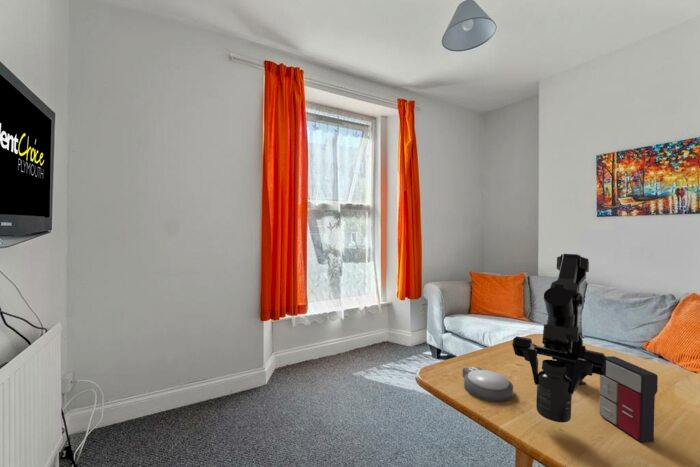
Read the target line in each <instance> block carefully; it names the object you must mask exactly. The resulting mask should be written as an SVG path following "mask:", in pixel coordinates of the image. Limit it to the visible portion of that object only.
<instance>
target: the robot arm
mask: <svg viewBox="0 0 700 467" xmlns="http://www.w3.org/2000/svg"><path fill="white" fill-rule="evenodd" d="M556 269H557V271H558V277H557V280H554V281H552V282H551V284H550V286H549V288H548V289H546V290H545V292H543V301H544V305H545V310H546V313H547V319H546V321H547V324H546V323H544V324H543V330H542V340H541V341H542V342H541V343H542V344H543V346H541V345H537V344H535V343H533V341H532V338H530V337H529V338H528V337H522V336H518V335H516V336H515V337H514V338H513V339H512V344H511V346H512V348H513V351H514V355H515V356H518V357H522V358H524V360H525V361H526V362H529V365H530V367H531V371H532V377H533V381H534V385H536V386H537V375H538V373H539V359H538V355H541V356H545V357H551V360H555V361H559V362H562V363H564V364H566V366H567V375H566V376H567V377H568V378H569V379H570V380H571V388H570V394H572V395H574V394H575V392H576V390H577V388H578V386H580V385H583V386H584V385H585V386H586V385H587V382H585V381H583V380H584V379H585V378H586V377H587V376H590V377H591V376H593V375H594V374H595V375H599V376H600V375H606V356H607V355H605V353H603V352H599V351H593V350H590V349H589V350H588V349H587V348H586V345H584V340H583V338H582V336H581V334H580V333H579V331H580V330H579V329H580V327H579V311H580V310H579V307H581V306H582V305H583V304H584V297H583V295H582V293H581V292H580V288H581V285H582V283H583V282H584V281H585V280H586V279H587V273H589V272H590V260H589V258H586V257H584V256H581V255H580V254H577V253H563V254H560V255H559V256H557V257H556Z"/></svg>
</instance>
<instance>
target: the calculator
mask: <svg viewBox="0 0 700 467" xmlns="http://www.w3.org/2000/svg"><path fill="white" fill-rule="evenodd" d="M605 356H606V375H599V401H598V403H599V404H598V407H599V408H598V411H599V412H598V414H599V415H600V416H601V417H602V418H604V419H605V420H607V421H608V422H610V423H611V424H613V425H614V426H616V427H617V428H619V429H620V430H622V431H624V432H625V433H627V434H628V435H630V436H631V437H632V438H634V439H635V440H637V441H639V442H640V443H649V442H651V443H652V442H654V439H655V403H656V402H655V400H656V398H655V396H656V394H657V393H658V379H659V378H658V375H657V374H656V373H655V372H652V371H649V370H647V369H645V368H642V367H640V366H638V365H636V364H633V363H631V362H628V361H627V360H624V359H622V358H619V357H617V356H614V355H611V356H610V355H609V356H607V355H605Z"/></svg>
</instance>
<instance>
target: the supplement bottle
mask: <svg viewBox="0 0 700 467" xmlns="http://www.w3.org/2000/svg"><path fill="white" fill-rule="evenodd" d="M541 364H542V365H541V371H538V375H537V385H536V407H535V408H536V411H537V412H538V414H539V415H540V416H542V417H543V418H545V419H546V420H548V421H552V422H556V423H560V424H561V423H567V422H570V420H571V419H572V394H570V388H571V380H570V379H569V378H568V377H567V376H566V375H567V366H566V364H564V363H562V362H559V361H556V360H555V359H554V360H553V359H544V360H542V363H541Z"/></svg>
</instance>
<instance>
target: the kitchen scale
mask: <svg viewBox="0 0 700 467" xmlns="http://www.w3.org/2000/svg"><path fill="white" fill-rule="evenodd" d="M462 377H463V380H464V381H463V388H464V389H465V392H467V393H468V394H470V395H471V396H473V397H475V398H477V399H480V400H483V401H488V402H496V403H497V402H498V403H499V402H500V403H502V402H508V401H510V400H511V399H513V396H514V385H513V383H512V382H511V381H510V380H509V379H508V378H507V377H506V376H505V375H503V374H500V373H498V372H495V371H491V370H486V369H485V370H484V369H482V368H481V367H479V366H478V367H477V366H476V367H473V366H472V367H469V366H468V367H463V368H462Z"/></svg>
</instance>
